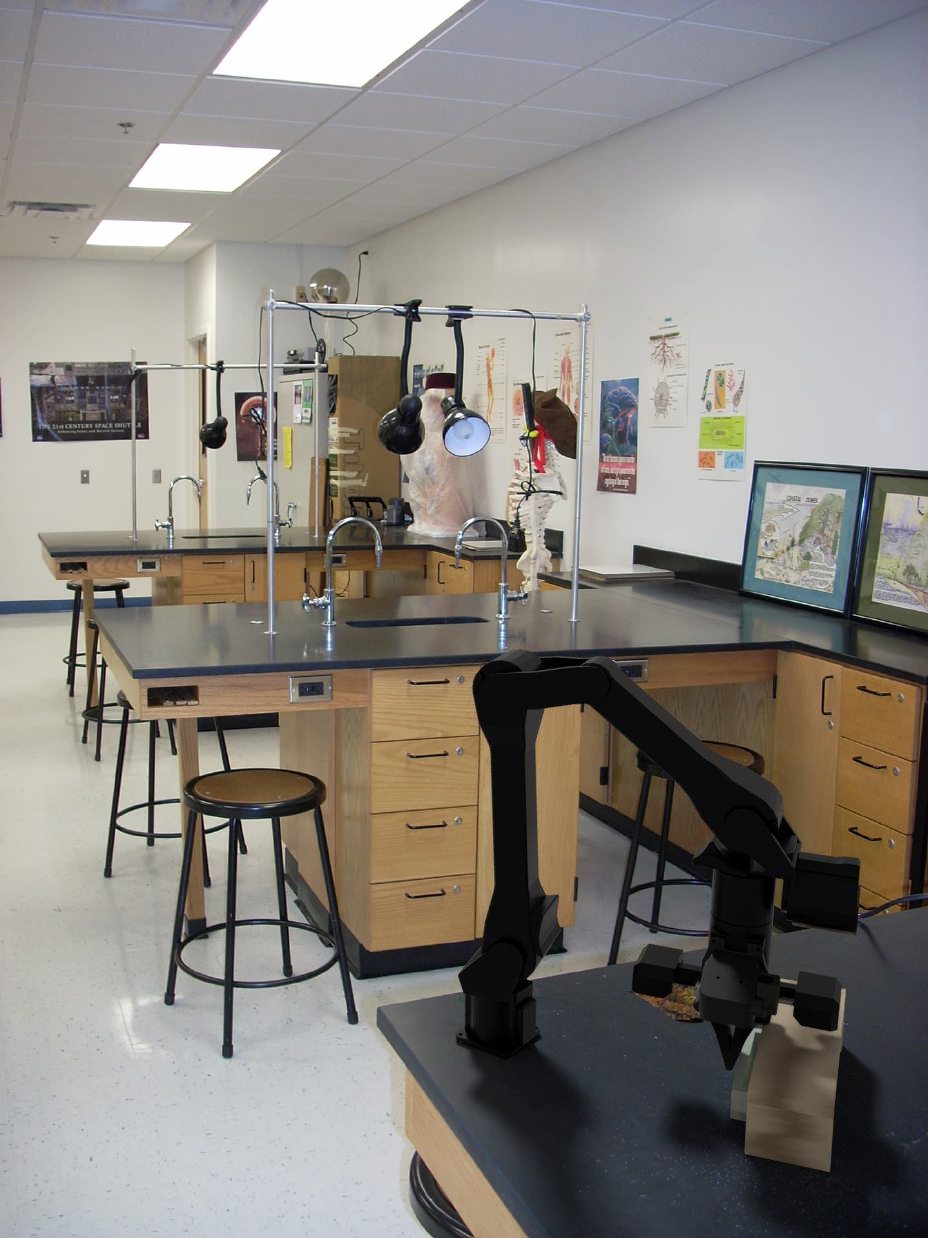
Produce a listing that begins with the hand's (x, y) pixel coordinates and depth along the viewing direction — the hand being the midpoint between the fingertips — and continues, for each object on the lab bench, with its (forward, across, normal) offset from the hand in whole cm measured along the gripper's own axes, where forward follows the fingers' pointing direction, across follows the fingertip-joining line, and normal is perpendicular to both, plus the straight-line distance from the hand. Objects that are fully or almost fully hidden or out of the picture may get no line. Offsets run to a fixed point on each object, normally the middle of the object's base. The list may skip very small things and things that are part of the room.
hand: (729, 1069), depth 112 cm
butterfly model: (+2, -6, +15) cm, 17 cm away
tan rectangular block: (+1, +6, 0) cm, 6 cm away
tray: (+1, +4, 0) cm, 4 cm away
